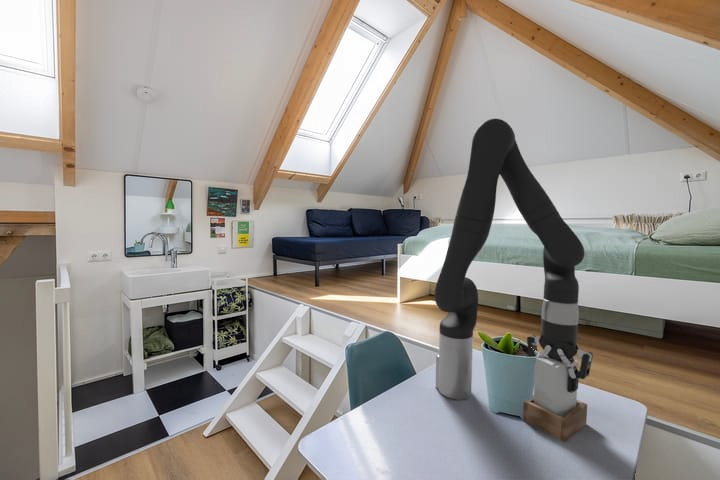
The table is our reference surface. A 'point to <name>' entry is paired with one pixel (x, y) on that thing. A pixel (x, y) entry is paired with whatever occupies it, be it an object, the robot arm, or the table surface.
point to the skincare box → (553, 386)
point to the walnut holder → (555, 420)
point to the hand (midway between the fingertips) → (555, 384)
